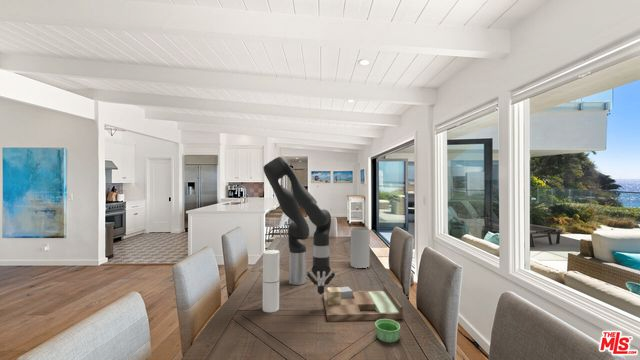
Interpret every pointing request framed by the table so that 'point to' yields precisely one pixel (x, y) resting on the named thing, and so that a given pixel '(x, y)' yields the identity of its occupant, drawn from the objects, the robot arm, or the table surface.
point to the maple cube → (334, 295)
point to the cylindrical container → (270, 280)
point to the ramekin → (387, 330)
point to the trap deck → (365, 306)
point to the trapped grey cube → (346, 293)
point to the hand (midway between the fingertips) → (320, 293)
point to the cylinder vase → (360, 247)
